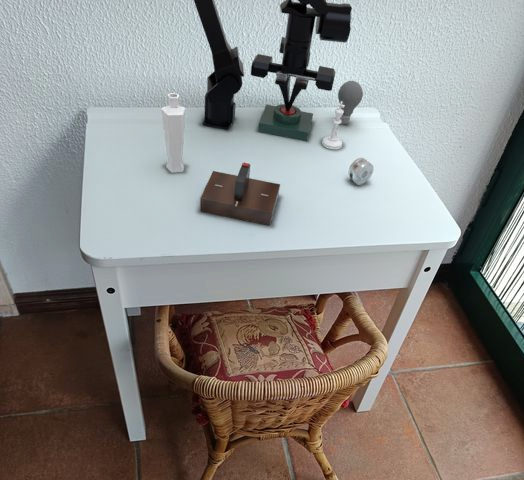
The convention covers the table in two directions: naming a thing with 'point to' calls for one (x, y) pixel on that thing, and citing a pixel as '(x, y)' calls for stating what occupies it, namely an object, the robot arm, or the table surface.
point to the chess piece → (334, 131)
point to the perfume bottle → (174, 133)
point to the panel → (250, 208)
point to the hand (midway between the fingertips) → (287, 110)
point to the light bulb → (349, 98)
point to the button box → (285, 122)
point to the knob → (242, 181)
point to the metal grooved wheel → (360, 171)
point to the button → (290, 112)
